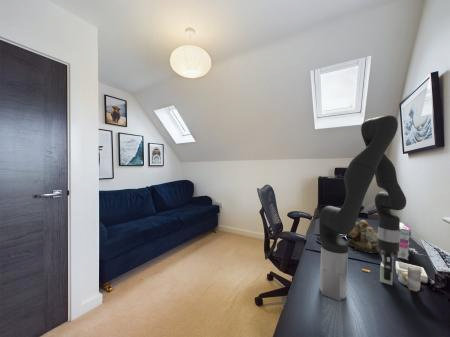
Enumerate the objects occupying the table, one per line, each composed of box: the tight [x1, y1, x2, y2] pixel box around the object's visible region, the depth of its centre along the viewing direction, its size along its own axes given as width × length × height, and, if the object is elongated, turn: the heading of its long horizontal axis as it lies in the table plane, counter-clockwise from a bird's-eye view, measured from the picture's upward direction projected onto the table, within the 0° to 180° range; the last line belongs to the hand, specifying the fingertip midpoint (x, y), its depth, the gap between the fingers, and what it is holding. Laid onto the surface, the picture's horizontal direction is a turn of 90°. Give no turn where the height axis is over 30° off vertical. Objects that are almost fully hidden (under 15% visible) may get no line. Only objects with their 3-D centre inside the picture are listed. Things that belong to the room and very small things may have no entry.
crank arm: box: [401, 267, 421, 293], centre depth 81 cm, size 15×5×8 cm, turn 143°
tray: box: [394, 260, 429, 284], centre depth 92 cm, size 10×10×3 cm
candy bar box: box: [396, 224, 412, 261], centre depth 112 cm, size 11×5×16 cm, turn 141°
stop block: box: [379, 262, 394, 286], centre depth 86 cm, size 4×4×7 cm
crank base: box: [361, 268, 422, 287], centre depth 89 cm, size 20×7×2 cm, turn 53°
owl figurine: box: [346, 219, 381, 254], centre depth 121 cm, size 18×12×17 cm, turn 34°
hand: (386, 275), depth 86 cm, fingers open, 8 cm apart
